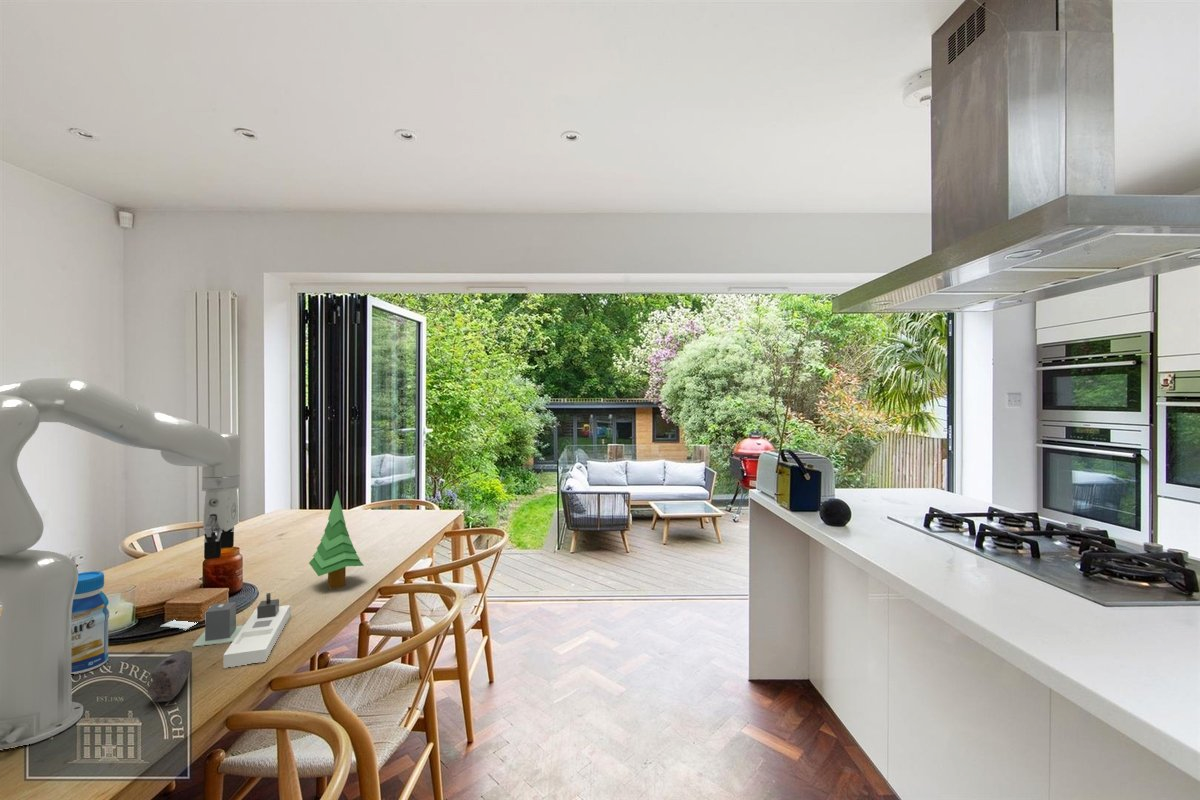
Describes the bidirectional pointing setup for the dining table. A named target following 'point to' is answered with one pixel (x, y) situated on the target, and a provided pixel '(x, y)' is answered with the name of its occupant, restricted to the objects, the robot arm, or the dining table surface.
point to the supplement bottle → (89, 623)
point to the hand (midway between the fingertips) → (219, 552)
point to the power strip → (258, 634)
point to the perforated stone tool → (170, 676)
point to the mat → (202, 641)
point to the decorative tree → (335, 549)
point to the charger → (220, 621)
